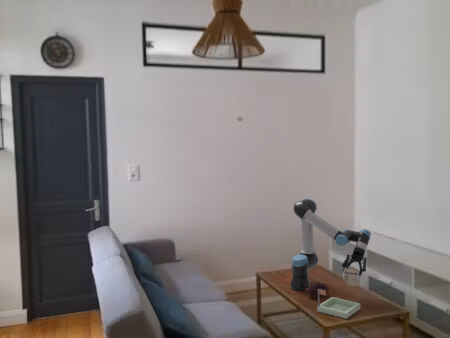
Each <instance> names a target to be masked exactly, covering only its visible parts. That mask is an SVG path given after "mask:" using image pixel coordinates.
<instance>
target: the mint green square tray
mask: <svg viewBox="0 0 450 338" xmlns="http://www.w3.org/2000/svg"><path fill="white" fill-rule="evenodd" d="M319 294H321V296H327V292H326V291H325V290H320V289H318V296H317V308H316V309H317V310H316V311H317V312H319V313H321V314H327V315H331V316H333V315H334V317H337V316H338V317H337V318H342V319H345V320H346V319H348V318H350V317H351V316H352V315H353V314H355V313H357V312H358V311H359V310H361V303H359V302H356V301H351V300H348V299H347V300H346V299H342V298H338V297H333V296H331V297H330V298H327V300H325V301H323V302H321V301H320V295H319ZM320 302H321V303H320Z"/></svg>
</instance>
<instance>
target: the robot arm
mask: <svg viewBox="0 0 450 338" xmlns="http://www.w3.org/2000/svg"><path fill="white" fill-rule="evenodd" d="M317 208H318V207H317V203H316V202H315V201H314V200H313V199H311V198H305V199H302V200H299V201H298V200H297V201H296V202H295V203H294V205H293V212H294V214H295V216H297V217H298V218H299V219H301V248H302V249H301V250H300V253H299V254H297V255H294V256H293V257H292V258H291V271H292V275H291V276H292V277H291V280H290V286H289V287H290V289H292V290H295V291H306V290H305V289H306V288H309V286H311V285H312V284H311V282H310V279H309V271H310V270H311V269H312V270H313V269H314V268H315V267H316V266H317V265H318V263H319V257H318V255H317V253H316V250H315V248H314V227H315V228H316V229H317V230H320V231H321V232H322V233H324V234H326V236H329V238H331V239H333V240H334V241H335V243H336V245H337V246H338V247H339V246H341V247H342V246H346V245H347V244H349V243H351V242H354V243H355V244H354V245H355V246H354V249H353V250H352V253H351V255H350V254H347V255H346V258H345V259H344V261H343V263H342V264H341V266H342V268H343V270H342V272H343V273H342V275H341V277H343V275H344V274H346V270H347V269H349V267H350V266H351V265H352V264H353V263H358V266H359V269H357V270H358V273H357V276H356V280H357V281H358V280H359V277H361V276H362V275H363V272H367V271H366V270H367V261H368V258H367V257H366V256H365V253H366V250H367V247H368V245H369V242H370V240H371V236H372V234H371V231H370V230H368V229H366V228H365V229H364V228H363V229H360V230H359V231H355V230H350V229H343V230H342V231H341V230H339V229H338V228H336V226H333V225H332V224H330V223H329V222H328V221H326V220H325V219H323V218H322V217H320V216H318V215H317V214H316V213H315V212H316V211H317ZM364 256H365V257H364ZM362 261H363V263H362ZM345 278H346V276H345V277H344V279H345Z"/></svg>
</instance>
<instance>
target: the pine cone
mask: <svg viewBox="0 0 450 338" xmlns="http://www.w3.org/2000/svg"><path fill="white" fill-rule="evenodd" d="M318 289H320V290H325V291H326V293H327V292H328V291H329V289H330V288H329V287H328V286H326V284H323V283H320V282H315V283H314V282H313V284H311V286H309V288H306V289H305V290H304V291H305V292H306V293H307V294H308V295H309V296H310V297H312V298H318ZM320 295H321V294H319V296H320ZM321 296H322V295H321Z"/></svg>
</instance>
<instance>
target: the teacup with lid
mask: <svg viewBox="0 0 450 338" xmlns="http://www.w3.org/2000/svg"><path fill="white" fill-rule="evenodd" d="M358 270H359V269H358V268H357V269H356V268H355V266H351V267H350V268H347V270H346V274H344V275H343V274H342V275H343V276H342V280H343V281H344V282H346V283H345V284H347V285H348V286H352V287H357V286H359V285H360V284H361V282H360V280H361V279H360V277H361V276H360V277H359V280H358V281H357V280H356V276H357V273H358ZM344 277H345V278H346V279H345V278H344Z"/></svg>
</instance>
